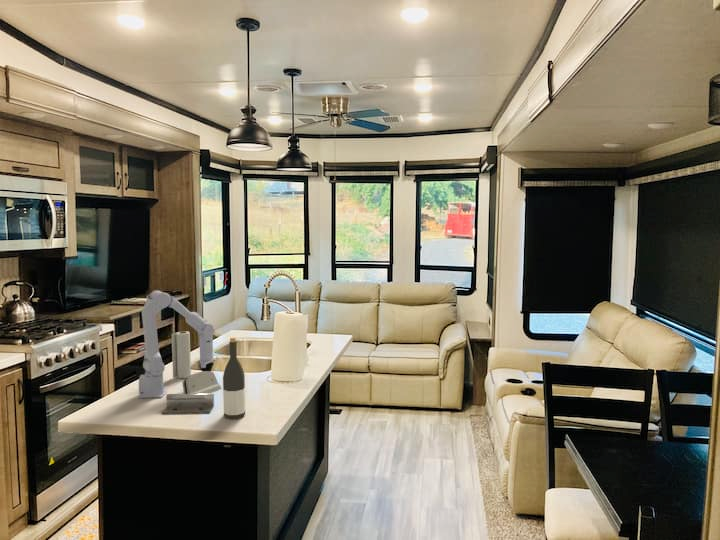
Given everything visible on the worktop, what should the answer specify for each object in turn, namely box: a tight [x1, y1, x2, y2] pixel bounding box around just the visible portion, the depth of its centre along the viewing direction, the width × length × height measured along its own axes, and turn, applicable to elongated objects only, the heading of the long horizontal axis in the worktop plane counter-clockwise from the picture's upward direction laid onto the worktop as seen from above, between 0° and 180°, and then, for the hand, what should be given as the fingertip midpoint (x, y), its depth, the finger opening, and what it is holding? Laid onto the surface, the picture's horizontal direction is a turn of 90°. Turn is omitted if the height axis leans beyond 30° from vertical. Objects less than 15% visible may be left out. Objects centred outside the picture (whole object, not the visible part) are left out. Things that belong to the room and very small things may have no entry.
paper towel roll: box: [171, 330, 192, 379], centre depth 257 cm, size 7×6×21 cm
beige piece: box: [181, 370, 222, 394], centre depth 235 cm, size 17×5×10 cm, turn 149°
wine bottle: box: [222, 336, 246, 420], centre depth 207 cm, size 8×8×30 cm
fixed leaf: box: [161, 392, 215, 415], centre depth 214 cm, size 18×8×5 cm, turn 93°
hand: (207, 379), depth 246 cm, fingers closed
